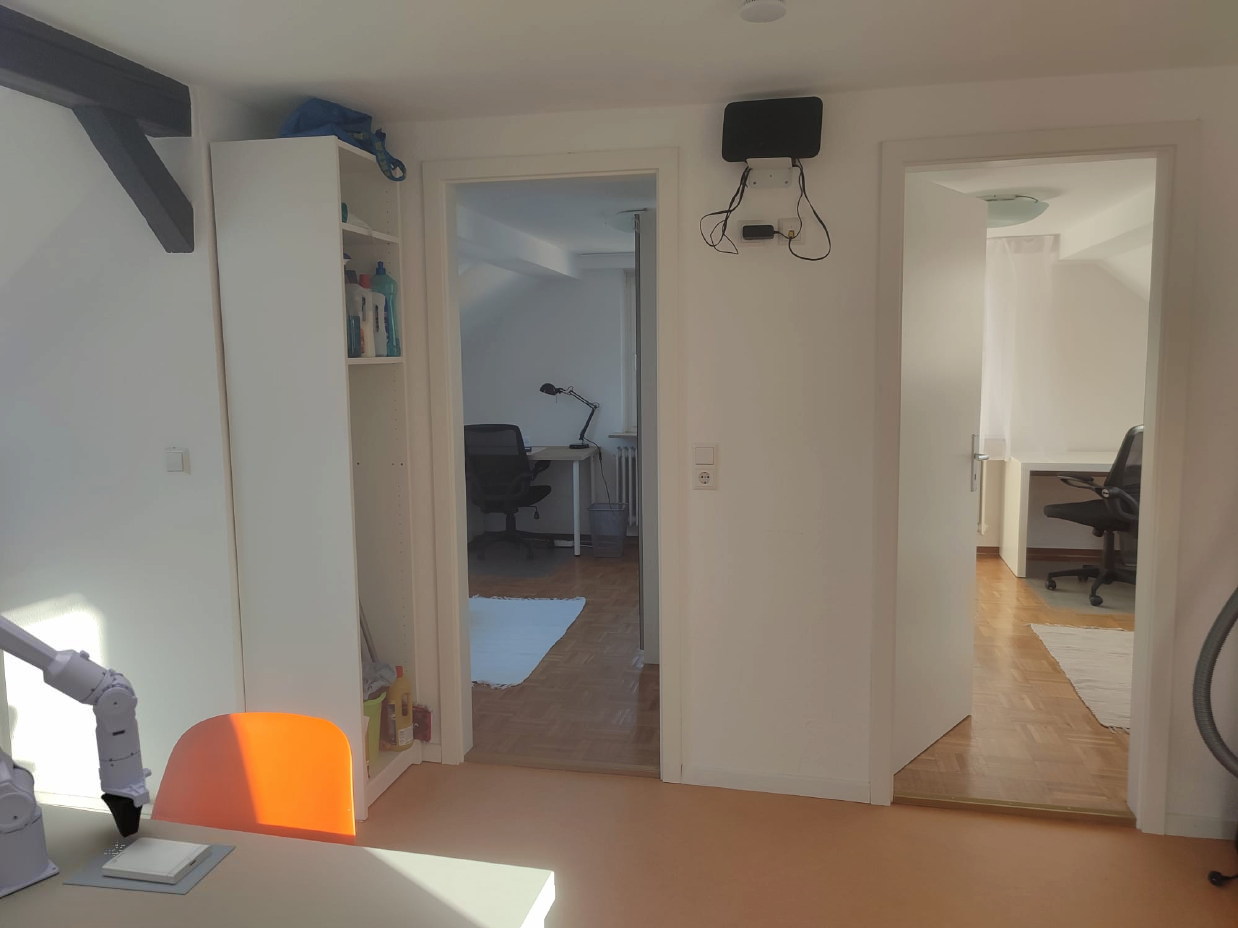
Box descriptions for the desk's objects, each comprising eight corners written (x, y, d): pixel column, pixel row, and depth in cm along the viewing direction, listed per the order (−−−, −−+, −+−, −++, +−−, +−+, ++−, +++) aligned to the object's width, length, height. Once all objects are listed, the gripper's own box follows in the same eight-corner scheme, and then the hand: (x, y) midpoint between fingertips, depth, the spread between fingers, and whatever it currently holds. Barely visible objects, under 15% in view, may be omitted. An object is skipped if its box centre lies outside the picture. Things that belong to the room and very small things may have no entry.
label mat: (63, 883, 129) (63, 882, 129) (122, 837, 141) (122, 836, 141) (185, 894, 125) (185, 893, 125) (235, 846, 137) (235, 845, 137)
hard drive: (100, 866, 130) (173, 874, 127) (142, 835, 138) (211, 842, 135) (102, 876, 130) (174, 885, 127) (143, 845, 138) (212, 852, 135)
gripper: (166, 755, 136) (175, 837, 138) (128, 731, 145) (137, 808, 147) (117, 773, 130) (127, 858, 132) (80, 747, 140) (90, 826, 141)
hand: (129, 833), depth 139 cm, fingers closed
